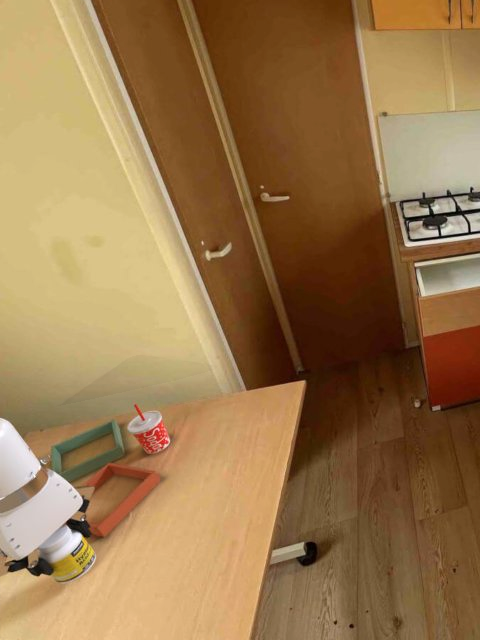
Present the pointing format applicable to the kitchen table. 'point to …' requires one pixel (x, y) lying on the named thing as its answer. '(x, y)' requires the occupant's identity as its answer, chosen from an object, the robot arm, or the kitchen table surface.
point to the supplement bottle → (67, 554)
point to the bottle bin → (81, 440)
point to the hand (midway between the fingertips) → (64, 552)
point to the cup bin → (129, 502)
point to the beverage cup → (149, 431)
